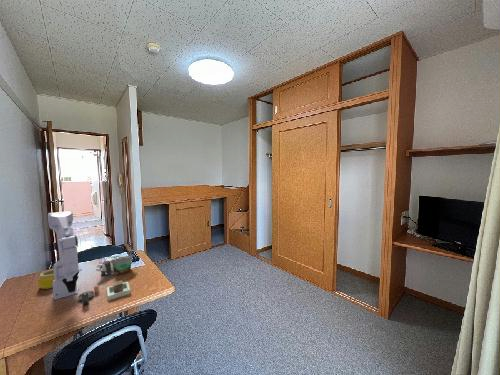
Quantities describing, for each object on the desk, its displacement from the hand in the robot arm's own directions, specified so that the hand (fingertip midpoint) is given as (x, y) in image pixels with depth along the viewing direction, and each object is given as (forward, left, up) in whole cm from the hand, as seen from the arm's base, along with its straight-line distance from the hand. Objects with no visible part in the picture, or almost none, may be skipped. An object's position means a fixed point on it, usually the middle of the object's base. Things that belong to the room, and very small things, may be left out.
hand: (72, 289), depth 102 cm
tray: (+19, +2, -9) cm, 21 cm away
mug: (-11, +33, -10) cm, 36 cm away
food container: (+24, +26, -10) cm, 36 cm away
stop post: (+9, +9, -9) cm, 16 cm away
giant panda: (+15, +31, -10) cm, 35 cm away
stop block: (+19, +2, -9) cm, 21 cm away
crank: (+5, +4, -9) cm, 11 cm away
